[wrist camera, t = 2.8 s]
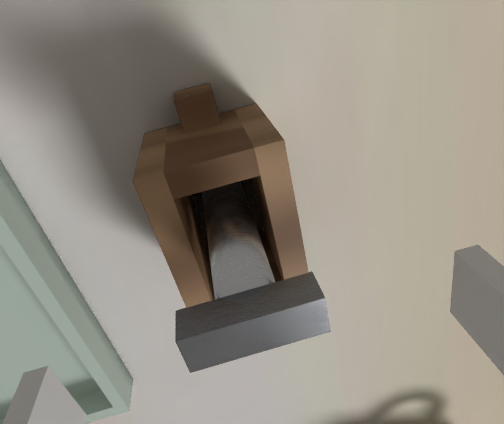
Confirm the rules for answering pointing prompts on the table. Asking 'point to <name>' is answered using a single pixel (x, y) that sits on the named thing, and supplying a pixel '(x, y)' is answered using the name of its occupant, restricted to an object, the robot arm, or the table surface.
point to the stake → (245, 292)
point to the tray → (50, 318)
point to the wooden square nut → (212, 176)
